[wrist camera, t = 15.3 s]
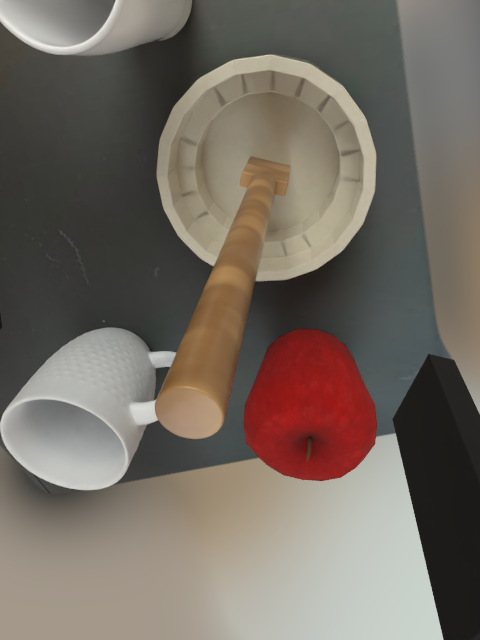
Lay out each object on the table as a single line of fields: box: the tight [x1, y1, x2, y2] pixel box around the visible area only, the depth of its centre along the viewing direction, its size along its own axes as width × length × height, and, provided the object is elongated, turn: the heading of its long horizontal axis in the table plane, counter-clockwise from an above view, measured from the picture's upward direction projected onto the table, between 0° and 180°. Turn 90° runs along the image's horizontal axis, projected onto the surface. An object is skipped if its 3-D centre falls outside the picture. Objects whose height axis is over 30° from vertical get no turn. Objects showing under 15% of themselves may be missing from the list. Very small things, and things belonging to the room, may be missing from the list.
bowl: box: [156, 54, 377, 281], centre depth 32 cm, size 15×15×6 cm
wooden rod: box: [155, 156, 291, 439], centre depth 22 cm, size 3×2×27 cm, turn 79°
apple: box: [244, 329, 377, 481], centre depth 38 cm, size 11×10×14 cm
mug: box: [0, 327, 176, 490], centre depth 41 cm, size 15×11×13 cm
